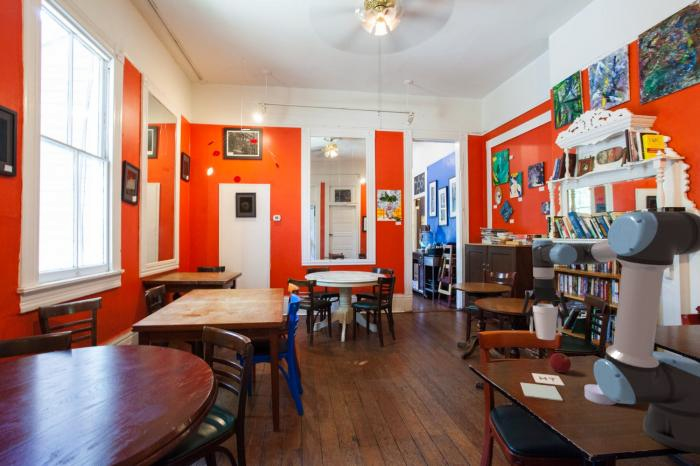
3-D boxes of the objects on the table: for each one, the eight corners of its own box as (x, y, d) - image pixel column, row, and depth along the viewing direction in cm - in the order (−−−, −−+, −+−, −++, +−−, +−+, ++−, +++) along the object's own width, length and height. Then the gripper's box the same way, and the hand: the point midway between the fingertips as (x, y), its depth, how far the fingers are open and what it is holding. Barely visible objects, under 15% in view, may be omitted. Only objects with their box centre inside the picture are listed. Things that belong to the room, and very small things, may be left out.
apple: (553, 374, 144) (552, 355, 145) (548, 367, 152) (547, 349, 152) (573, 376, 142) (573, 357, 142) (567, 369, 150) (566, 351, 150)
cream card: (564, 385, 133) (564, 385, 133) (535, 382, 136) (535, 381, 136) (558, 376, 142) (558, 375, 142) (531, 373, 146) (531, 372, 146)
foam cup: (563, 341, 132) (561, 308, 133) (536, 340, 134) (535, 307, 135) (553, 335, 141) (552, 304, 142) (529, 334, 143) (528, 303, 144)
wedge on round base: (626, 398, 122) (582, 391, 128) (625, 379, 122) (582, 373, 128) (634, 409, 114) (587, 401, 120) (633, 389, 114) (586, 382, 120)
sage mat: (562, 401, 120) (562, 399, 120) (524, 396, 124) (524, 395, 124) (554, 387, 131) (554, 386, 131) (520, 383, 135) (520, 382, 135)
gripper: (572, 277, 138) (574, 333, 137) (512, 276, 146) (514, 329, 145) (578, 279, 131) (580, 338, 130) (514, 278, 139) (516, 333, 138)
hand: (545, 333), depth 138 cm, fingers closed on foam cup, 9 cm apart
